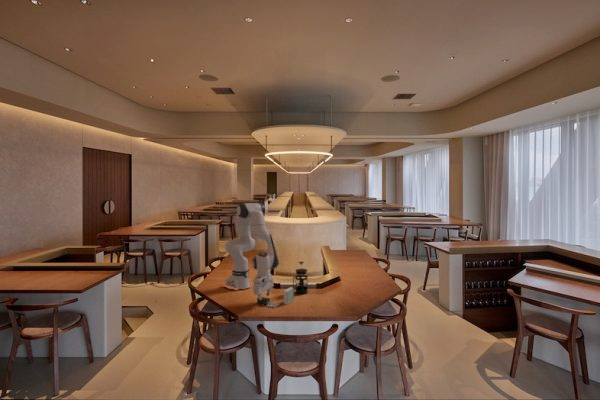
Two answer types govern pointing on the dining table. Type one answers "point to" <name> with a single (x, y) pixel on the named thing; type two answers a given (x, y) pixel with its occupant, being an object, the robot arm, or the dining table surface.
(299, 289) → the french press
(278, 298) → the dining table surface
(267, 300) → the turner
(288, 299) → the tile
